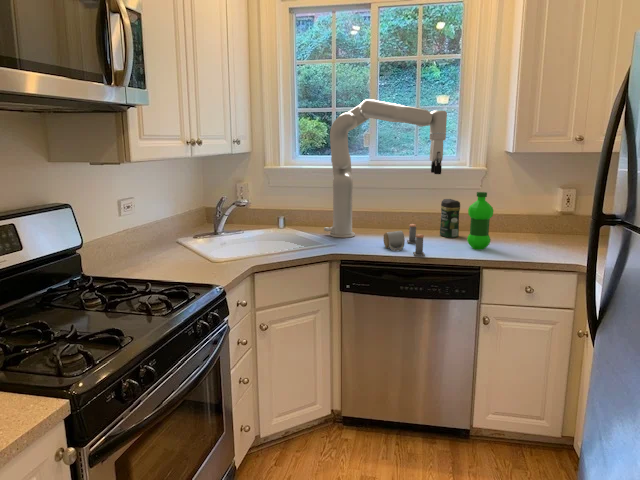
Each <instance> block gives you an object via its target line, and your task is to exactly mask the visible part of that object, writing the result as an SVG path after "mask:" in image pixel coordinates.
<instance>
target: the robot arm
mask: <svg viewBox="0 0 640 480" xmlns="http://www.w3.org/2000/svg"><path fill="white" fill-rule="evenodd" d="M447 118H448V113H447V111H446V110H432V111H429V110H427V109H424V108H418V107H413V106H406V105H403V104H397V103H393V102H386V101H381V100H376V99H370V98H367V99H364V100H363V101H362V102H360V104H358V105H356V106H355V107H354V108H352V109H350V110H349V111H347V112H343V113H341V114H340V115H339V116H338V117H336V119H334V120H333V122H332V124H331V128H330V132H329V141H330V154H331V158H330V159H331V166H332V174H333V176H332V177H333V179H332V210H333V211H332V226H330V227H329V226H326V227H324V229H323V231H324V232H328V233H329V232H330V233H329V236H331V237H333V238H339V239H340V238H342V239H343V238H346V239H348V238H353V237H355V236H356V233H355V232H354V231H353V188H354V186H353V185H354V184H353V182H354V181H353V179H354V178H353V172H352V160H351V158H352V157H351V155H350V151H349V150H350V149H349V140H348V134H349V132H350V131H352V130H354V129H355V128H357V127H359V126H360V125H361V124H363V123H365V122H367V120H369V119H374V120H380V121H385V122H390V123H404V124H409V125H415V126H417V127H422V128H423V127H429V141H430V149H429V161H430V162H431V165H430V173H431V174H432V173H433V174H434V175H442V161H443V159H444V158H443V157H444V141H446V138H447V123H448V122H447V121H448V120H447Z"/></svg>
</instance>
